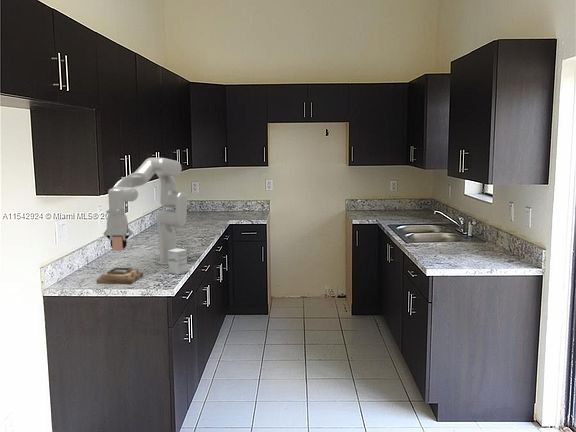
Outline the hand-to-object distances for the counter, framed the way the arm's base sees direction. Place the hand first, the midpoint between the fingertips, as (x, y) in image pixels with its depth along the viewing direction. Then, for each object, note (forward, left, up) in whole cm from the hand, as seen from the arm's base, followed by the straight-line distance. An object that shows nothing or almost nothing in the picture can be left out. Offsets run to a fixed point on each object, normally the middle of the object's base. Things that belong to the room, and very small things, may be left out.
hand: (118, 247), depth 272 cm
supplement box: (-18, +25, -17) cm, 35 cm away
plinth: (0, 0, -17) cm, 17 cm away
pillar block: (0, 0, -1) cm, 1 cm away
